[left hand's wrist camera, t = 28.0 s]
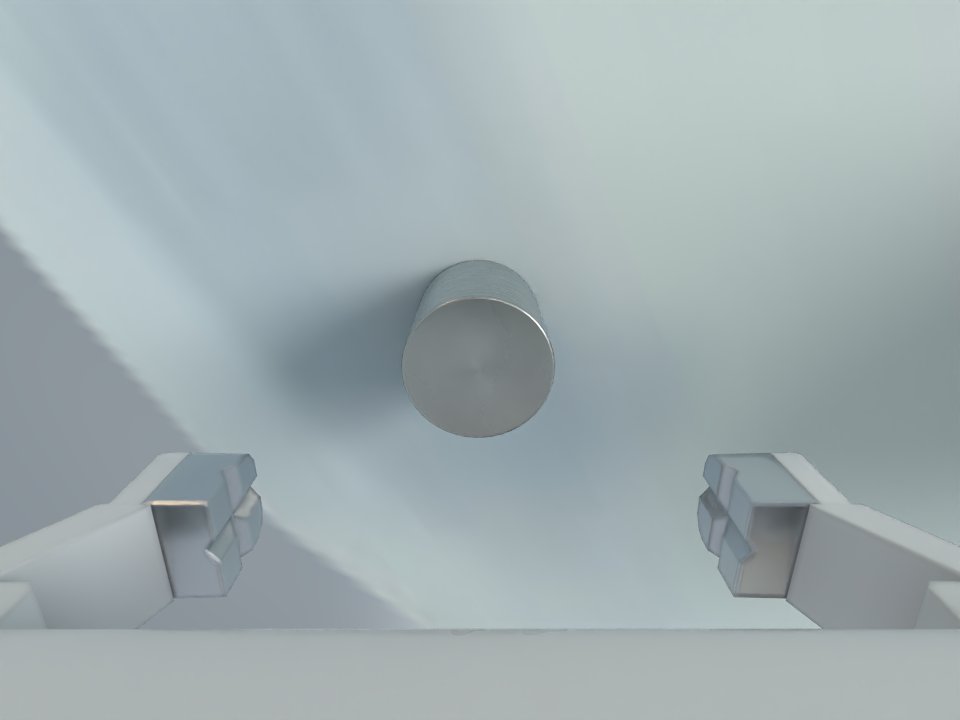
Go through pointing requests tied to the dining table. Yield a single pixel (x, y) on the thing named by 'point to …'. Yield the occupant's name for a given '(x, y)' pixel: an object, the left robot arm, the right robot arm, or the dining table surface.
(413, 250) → the dining table surface
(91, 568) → the left robot arm
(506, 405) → the can
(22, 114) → the dining table surface
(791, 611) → the dining table surface
